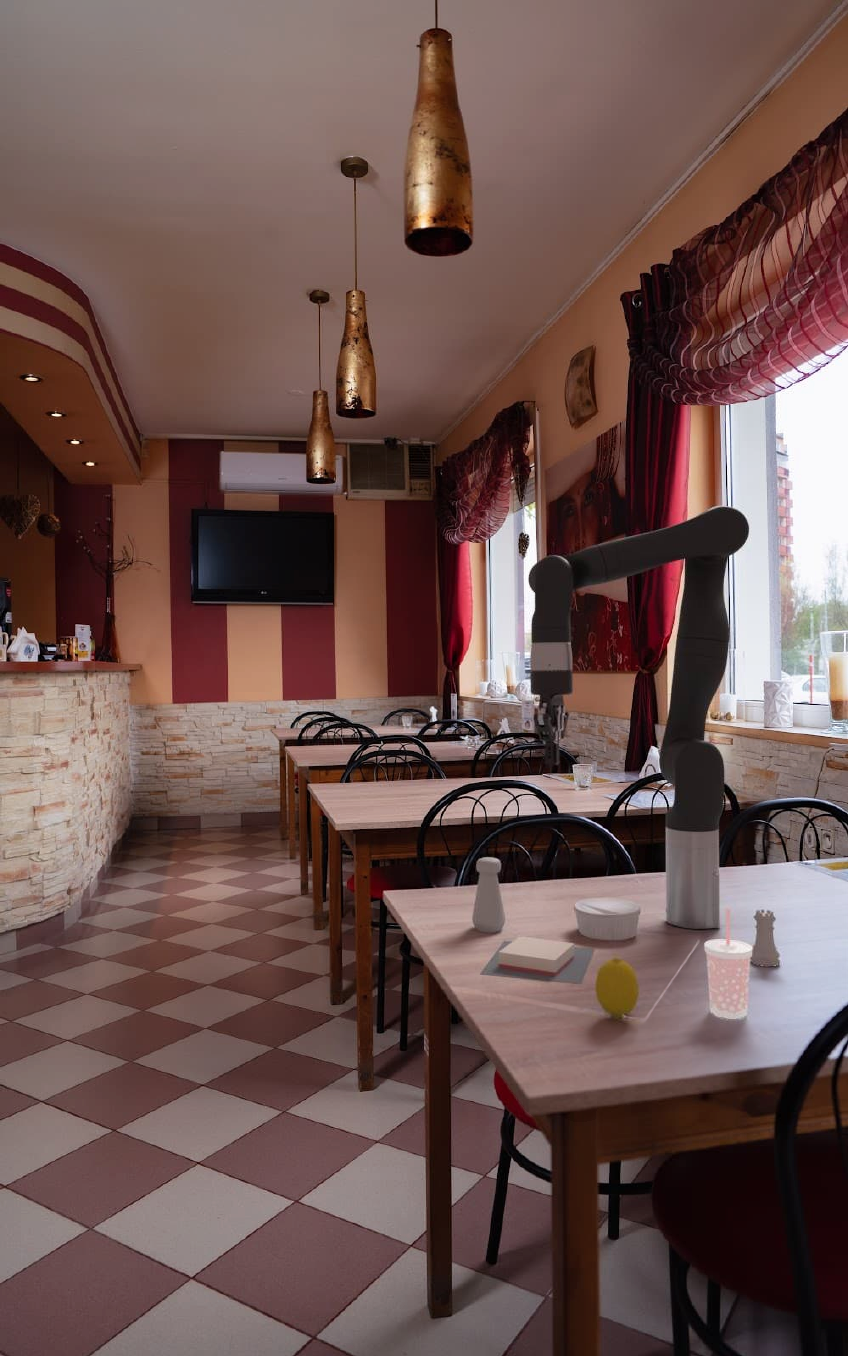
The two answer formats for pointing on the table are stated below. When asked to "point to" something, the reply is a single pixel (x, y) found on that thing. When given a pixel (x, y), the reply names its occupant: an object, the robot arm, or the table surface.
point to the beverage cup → (728, 975)
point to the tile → (536, 956)
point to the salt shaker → (488, 897)
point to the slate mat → (568, 975)
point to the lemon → (617, 987)
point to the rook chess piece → (765, 940)
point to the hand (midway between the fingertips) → (552, 764)
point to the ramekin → (607, 918)
